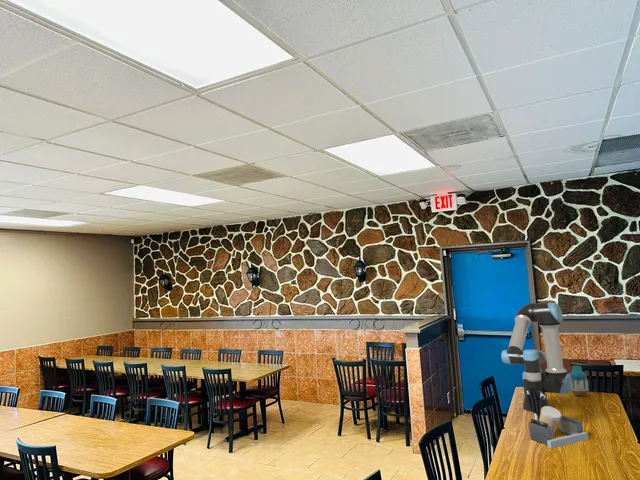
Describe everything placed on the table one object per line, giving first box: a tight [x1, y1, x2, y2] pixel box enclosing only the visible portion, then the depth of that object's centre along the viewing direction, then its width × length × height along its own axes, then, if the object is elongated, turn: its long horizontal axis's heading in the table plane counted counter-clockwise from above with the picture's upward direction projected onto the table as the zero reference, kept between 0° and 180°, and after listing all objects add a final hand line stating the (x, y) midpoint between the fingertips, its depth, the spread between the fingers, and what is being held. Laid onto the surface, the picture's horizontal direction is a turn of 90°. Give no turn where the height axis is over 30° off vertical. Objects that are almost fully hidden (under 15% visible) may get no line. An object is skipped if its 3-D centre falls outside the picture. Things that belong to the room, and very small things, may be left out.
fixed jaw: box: [559, 415, 584, 436], centre depth 220 cm, size 11×4×8 cm, turn 19°
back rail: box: [546, 431, 589, 449], centre depth 210 cm, size 2×24×3 cm, turn 109°
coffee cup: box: [539, 405, 562, 437], centre depth 222 cm, size 9×9×12 cm
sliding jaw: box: [528, 418, 554, 445], centre depth 214 cm, size 11×4×10 cm, turn 19°
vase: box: [569, 365, 590, 397], centre depth 291 cm, size 11×11×19 cm
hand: (538, 426), depth 227 cm, fingers closed
